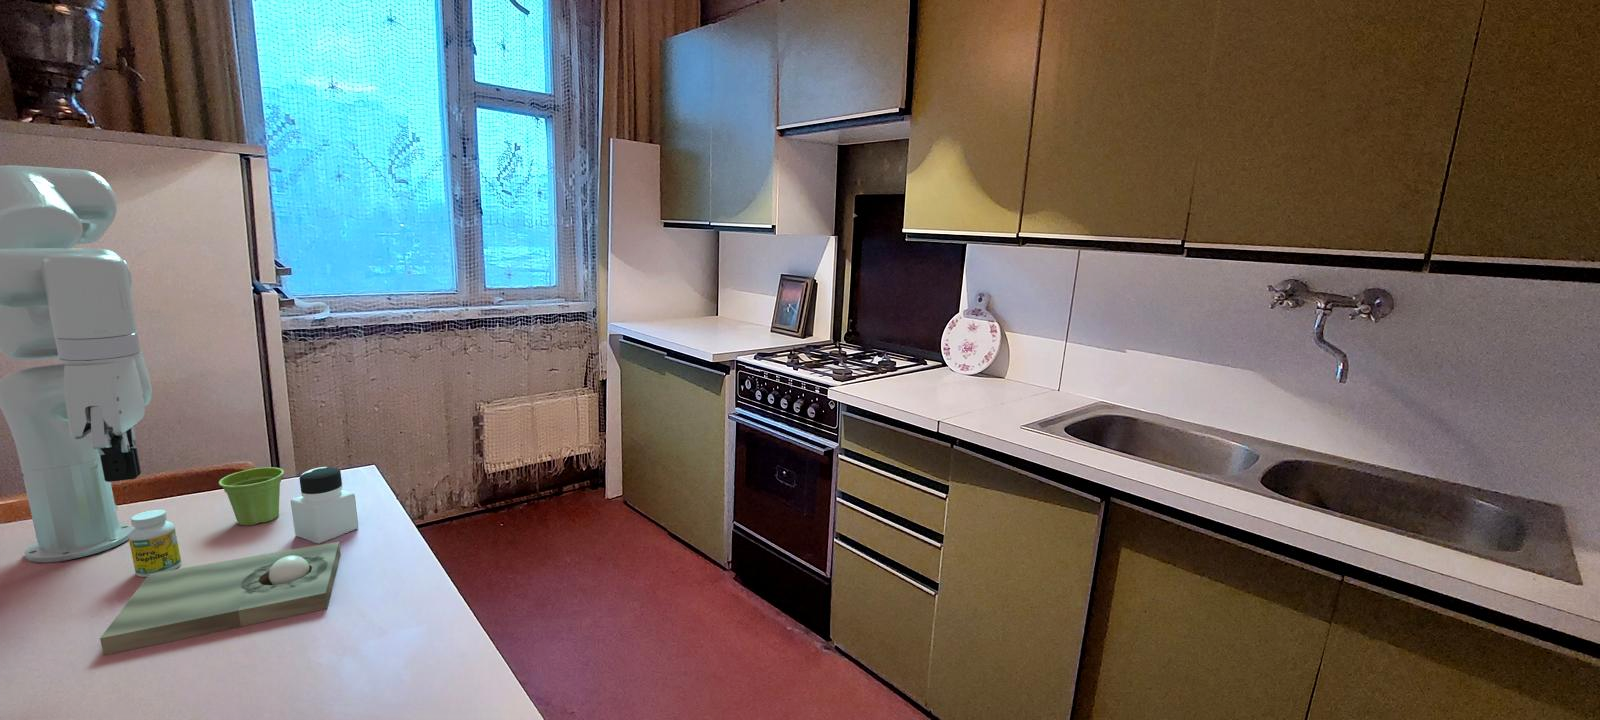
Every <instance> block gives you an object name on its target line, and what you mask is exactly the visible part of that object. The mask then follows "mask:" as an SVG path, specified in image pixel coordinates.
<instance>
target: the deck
mask: <svg viewBox="0 0 1600 720" xmlns="http://www.w3.org/2000/svg"><path fill="white" fill-rule="evenodd" d="M292 555H294V556H300V557H302V558H304V559H305V560H306V561H307V562H308V564H309V573H308V574H307V575H305V576H304V577H303V578H300V579H297V580H295V581H292V582H290V583H285V584H280V585H273V584H272V583H271V582H270V580H269V571H270V569H271V567H272V565H273V564H274V563H275V562H276V561H278V560H279V559H281V558H283V557H286V556H292ZM341 555H342V554H341V546H340V541H334V542H329V543H323V544H322V543H321V544H317V545H311V546H305V547H304V546H303V547H299V548H298V547H297V548H294V549H293V548H292V549H288V550H287V549H286V550H281V551H276V552H275V551H274V552H269V553H264V554H259V555H258V554H257V555H251V556H246V557H240V558H235V559H229V560H223V561H218V562H212V563H205V564H201V565H199V564H198V565H194V566H189V567H182V568H176V569H174V570H170V571H164V572H158V573H152V574H149V575H148V576H147V577H145V579H144V580H143V581H142V583H141V584H140V586H139V587H138V588H137V589H136V591H135V592H134V593H133V594H132V596H131V597H130V598H129V600H128V601H127V603H125V605H124V606H123V607H122V609H121V610H120V612H119V613H118V614H117V616H116V617H115V618H114V619H113V621H112V622H111V623H110V624H109V626H108V627H107V628H106V630H105V631H104V633H102V635H101V636H100V638H99V639H100V641H99V642H100V644H101V650H102V656H108V655H112V654H117V653H121V652H126V651H130V650H135V649H140V648H145V647H149V646H155V645H159V644H163V643H164V644H165V643H169V642H173V641H178V640H183V639H189V638H192V637H193V638H194V637H197V636H202V635H206V634H207V635H208V634H212V633H216V632H217V633H218V632H222V631H227V630H231V629H236V628H240V627H241V628H242V627H245V626H250V625H254V624H258V623H264V622H269V621H273V620H279V619H284V618H286V617H287V618H288V617H293V616H296V615H302V614H306V613H307V614H308V613H311V612H316V611H320V610H321V611H322V610H326V609H328V608H329V603H330V601H331V596H332V593H333V587H334V584H335V579H336V576H337V571H338V569H339V563H340V559H341Z"/></svg>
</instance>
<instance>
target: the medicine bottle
mask: <svg viewBox="0 0 1600 720" xmlns="http://www.w3.org/2000/svg"><path fill="white" fill-rule="evenodd" d="M341 472H342V471H341V469H339V468H337V467H331V466H322V467H316V468H312V469H309V470H307V471H305V472H303V473H302V474H301V475H300V476H299V479H298V480H299V484H300V493H301V494H300V496H297V497H294V498H291V500H290V507H291V514H292V522H293V528H294V534H295V535H294V536H296V537H298V538H301V539H304V540H307V541H310V542H312V543H314V544H317V545H321V544H322V543H323V544H324V543H325V542H329V541H330V540H332V539H334V538H337V537H340V536H343V535H345V533H346V534H348V533H350V531H351V532H353V531H356V530H358V529H359V521H358V514H357V513H358V512H357V504H356V496H355V493H354V492H351V491H347V490H344V489H343V481H342V473H341ZM357 528H358V529H357ZM355 529H356V530H355ZM352 530H353V531H352Z"/></svg>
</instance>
